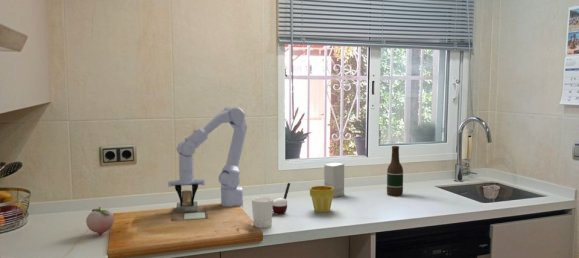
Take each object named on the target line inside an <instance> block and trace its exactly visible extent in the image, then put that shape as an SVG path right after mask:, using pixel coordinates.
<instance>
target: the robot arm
mask: <svg viewBox="0 0 579 258" xmlns="http://www.w3.org/2000/svg"><path fill="white" fill-rule="evenodd" d="M246 121H247V120H246V113H245V112H244V110H243V109H242V108H241V107H239V106H234V107H232V106H226V107H224V108H223V109H222V110H220V111H219V112H218V113H217V114H216V115H215V116H214V117H213V118H212V119H211V120H209V122H208V123H206V125H205V126H204V127H202V128H197V129H194V130H192V133H191V134H190V135H188V137H185V138H184V140H182V141H180V142H179V143H178V144H177V146H176V151H177V153H178V174H179V175H178V176H179V178H178V180H169V181H168V184H167V185H168V187H174V190H175V191H176V193H177V195H178V199H179V202H180V203H182V191H183V190H182V186H191V191H192V203H194V202H195V201H194V200H195V197H196V193H197V190H198V189H199V186H200V185H201V186H204V185H205V179H194V157H193V156H194V154H195V153H196V152H195V151H196V149H197V148H199V146H201V145H202V144H203V143H205V142H206V141H207V139H208V136H209V134H211V133H212V132H213V131H214V130H215V129H217V128H218V127H219V126H220V125H222V124H224V123H225V124H226V123H229V124H230V125H231V127H232V128H233V133H232V138H231V142H230V146H229V150H228V154H227V159H226V163H225V165H224V166H223V167H222V170H221V172H220V174H219V175H218V182H219V184H220V205H221V206H222V207H237V206H238V207H239V206H241V207H242V208H244V196H243V187H240V186H239V185H240V181H241V180H240V169H239V165H240V160H241V155H242V151H243V147H244V142H245V139H246V134H247V130H248V126H247V122H246Z"/></svg>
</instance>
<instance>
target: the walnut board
mask: <svg viewBox="0 0 579 258" xmlns="http://www.w3.org/2000/svg"><path fill="white" fill-rule="evenodd" d="M197 206H198V205H197ZM203 212H205V218H204V219H203V220H209V216H208V207H207V205H199V206H198V212H191V213H203ZM184 214H187V213H176V207H172V212H171V217H170V222H181V221H183V222H184V221H186V220H184ZM195 220H196V221H197V220H199V221H200V220H202V219H188V220H187V221H195Z"/></svg>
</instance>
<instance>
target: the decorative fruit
mask: <svg viewBox="0 0 579 258" xmlns="http://www.w3.org/2000/svg"><path fill="white" fill-rule="evenodd" d="M114 216H115V215H113V212H111V211H109V210H107V209H101V206H99V207H98V208H93V209H91V212H90V213H89V214H88V215H87V216H86V220H85V223H86V226H87V227H88V229H89V230H90V231H91V232H93V233H96V234H98V235H103V234H105V233H106V232H108V231H109V230H110V229H112V227H113V225H114V222H115V217H114Z"/></svg>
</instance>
